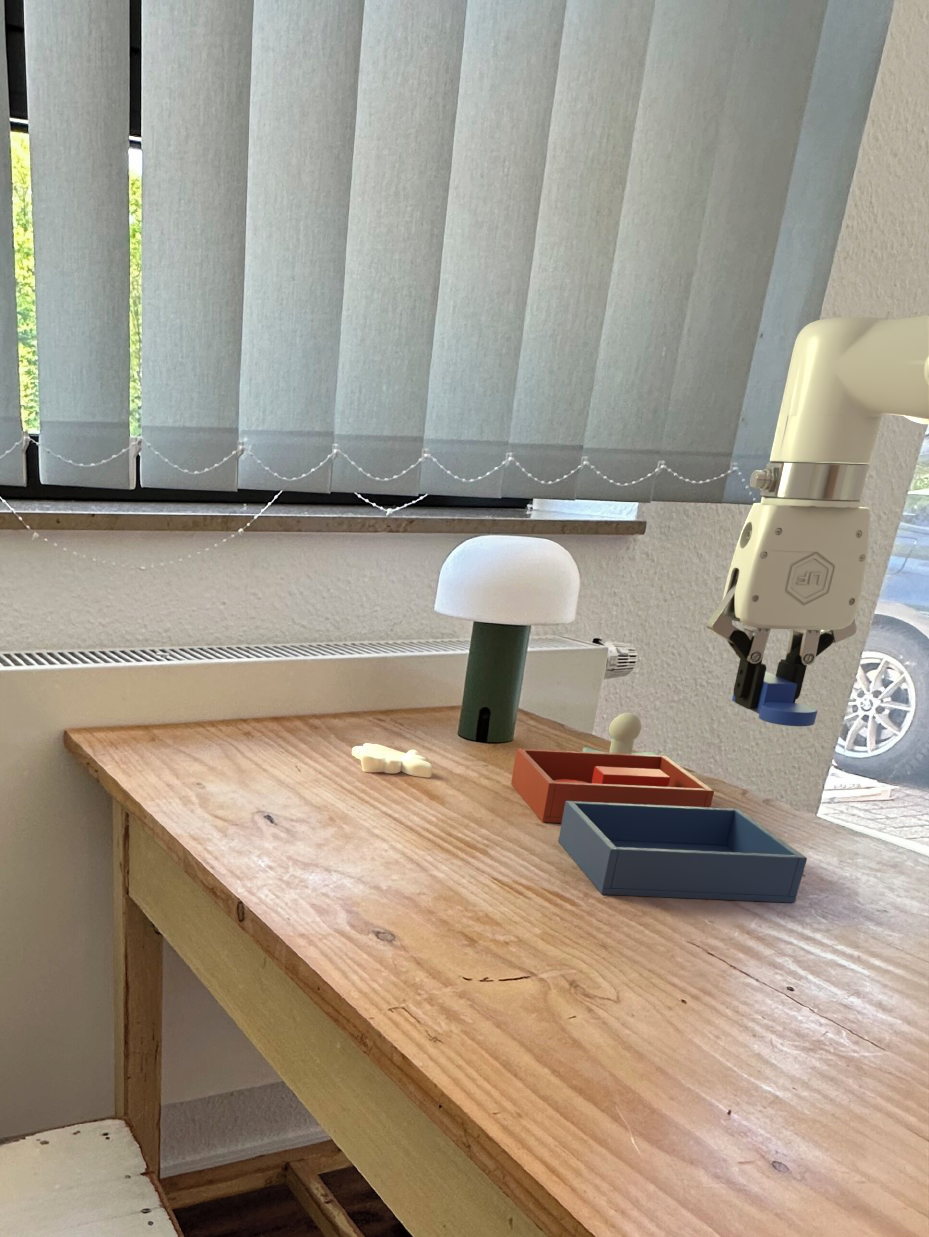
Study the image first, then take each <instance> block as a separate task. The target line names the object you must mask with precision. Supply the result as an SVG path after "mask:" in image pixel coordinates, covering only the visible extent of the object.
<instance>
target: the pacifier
mask: <svg viewBox="0 0 929 1237" xmlns="http://www.w3.org/2000/svg"><path fill="white" fill-rule="evenodd" d="M641 731H642V721H641V719H640V717H639V716H638V715H637V714H635V713H633V712H623V713H621V714H619V715H617V716H615V717H614V719H613V720H612V721H611V723H610V724H609V727H608V734H609V736H610V739H611V742H610V746H609V752H607V751H603V750H596V749H594V748H590V747H587V746H583V747H582V752H601V753H622V754H643V755H659V756H660V754H659V753H658V752H653V751H643V752H642V751H641V752H633V748H634V747H633V746H634V743H635V740H636V739H637V738H638V737H639V735H640V733H641Z"/></svg>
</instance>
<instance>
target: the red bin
mask: <svg viewBox="0 0 929 1237" xmlns="http://www.w3.org/2000/svg"><path fill="white" fill-rule="evenodd" d="M595 766H599V767H621V768H642V769H660V770H661V771H662V772H664V773H665V774H666V775H668V776H669V777H670V781H669V786H668V787H658V786H636V785H615V784H594V783H592V778H593V773H594V768H595ZM561 779H567V780H577V781H582V782H586V783H572V782H554V781H553V780H561ZM510 785H511V786H512V787H513V788H514V790H515V791H516V792H517V793H518V795H519V796H520V797H521V799H523V800H524V802H525V803H526V804H527V805H528V807H529V809H531V810H532V811H533V813H534V814H535V815H536V816H537V817H538V819H539V820H540V822H542V823H549V824H550V823H551V824H552V823H553V824H561V823H562V818H563V812H564V807H565V802H566V801H579V802H600V803H622V804H644V805H665V806H687V807H708V808H712V802H713V797H714V795H715V790H713V788H711V787H710V786H708V785H707V784H705V783H704V782H703V781H701V780H700V779H698V778H697V777H696V776H694V775H693V774H691V773H690V772H689V771H688V770H686V769H684V768H683V767H681V766H680V765H679V764H677V763H676V762H675V761H674V760H672V759H671V758H669V757H668V756H667V755H664V754H663V755H661V754H659V755H643V754H622V753H601V752H584V751H581V750H580V751H576V750H574V751H573V750H556V749H536V748H516V751H515V756H514V763H513V770H512V775H511V781H510Z"/></svg>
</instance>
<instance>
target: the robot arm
mask: <svg viewBox="0 0 929 1237" xmlns="http://www.w3.org/2000/svg"><path fill="white" fill-rule="evenodd" d="M883 415H892V416H893V415H894V416H902V417H904V418H906V419H907V420H909V421H912V422H915V423H918V424H920V425H929V314H926V315H919V316H912V317H901V318H894V319H888V318H883V317H875V316H838V317H828V318H822V319H817V320H815V321H812V322H810V323H808V324H806V325H805V326H804V327H803V328H802V329H801V330H800V331H799V332H798V334H797V336H796V339H795V342H794V345H793V349H792V353H791V357H790V362H789V368H788V372H787V376H786V381H785V386H784V391H783V396H782V400H781V404H780V410H779V415H778V420H777V423H776V424H777V425H776V428H775V434H774V438H773V443H772V448H771V452H770V458H769V462H766V465H765V468H763V469H762V470H753V471H752V472H751V474H750V477H749V486H750V488H752V489H753V488H755V489H758V490H760V494H759V496H761V501H760V502H754V503H753V504H752V506H751V509H750V510H749V513H748V515H747V518H746V520H745V522H744V525H743V527H742V529H741V532H740V535H739V538H738V541H737V544H736V547H735V549H734V553H733V556H732V559H731V562H730V563H731V564H730V566H729V570H728V573H727V576H726V577H727V578H726V582H725V586H724V590H723V595H722V599H721V602H720V604H719V605H718V606H717V608H716V609H715V611H714V612H713V614H712V615H711V617H710V618H709V620H708V621H707V623H706V628H707V629H708V630H709V631H710V632H712V633H713V634H715V635H717V636H718V637H720V638H721V639H723V640H725V641H726V642H727V644H728V645H729V646H730V647H731V649H732V650H733V651H734V652H735V656H736V658H738V659H739V663H738V668H737V673H736V677H735V681H734V685H733V693H734V696H735V702H734V703H735V704H737V705H739V706H740V707H743V708H745V709H747V710H750V709H755V708H756V707H757V704H758V700H759V695H760V691H761V687H762V682H763V681H764V677H765V673H766V672H767V665H766V664H764V663H763V658H764V655H765V651H766V647H767V643H768V639H769V636H770V633H771V629H773V630H790V633H789V640H788V645H787V652H786V655H785V658H784V659H783V658H782V659H780V660H779V661H778V665H777V668H776V672H775V675H776V676H778V677H781V678H783V679H786V680H788V681H791V682H793V683H795V684H797V687H796V691H795V695H794V700H793V703H796V700H798V699H799V698H800V696H801V692H802V688H803V685H804V684H803V683H804V679H805V675H806V671H807V668H808V667H807V666H811V665H812V664H814V662H815V661H816V658H817V657H818V656H819V655H821V654H822V653H823V652H825V650H827V649H828V648H829V647H831V645H832V644H837V643H838V642H841V641H844V640H846V639H848V638H850V637H853V636H854V635H855V634H856V633H857V625H856V624H857V623H856V620H855V618H856V615H857V611H858V608H859V605H860V599H861V595H862V591H863V589H862V588H863V585H864V579H865V572H866V567H867V561H868V554H869V553H868V552H869V543H870V542H869V541H870V526H871V525H870V524H871V518H870V517H871V516H870V515H871V513H870V512H871V511H870V508H871V507H865V506H864V507H863V506H861V503H862V502H861V501H862V498H863V493H864V491H865V490H864V489H865V485H866V481H867V477H868V473H869V471H870V470H869V469H870V464H871V461H872V458H873V454H874V449H875V446H876V442H877V437H878V432H879V428H880V425H881V421H882V418H883ZM733 621H734V622H740V623H742V627H741V629H740V628H738V627H736V625H734V624H733Z"/></svg>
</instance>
